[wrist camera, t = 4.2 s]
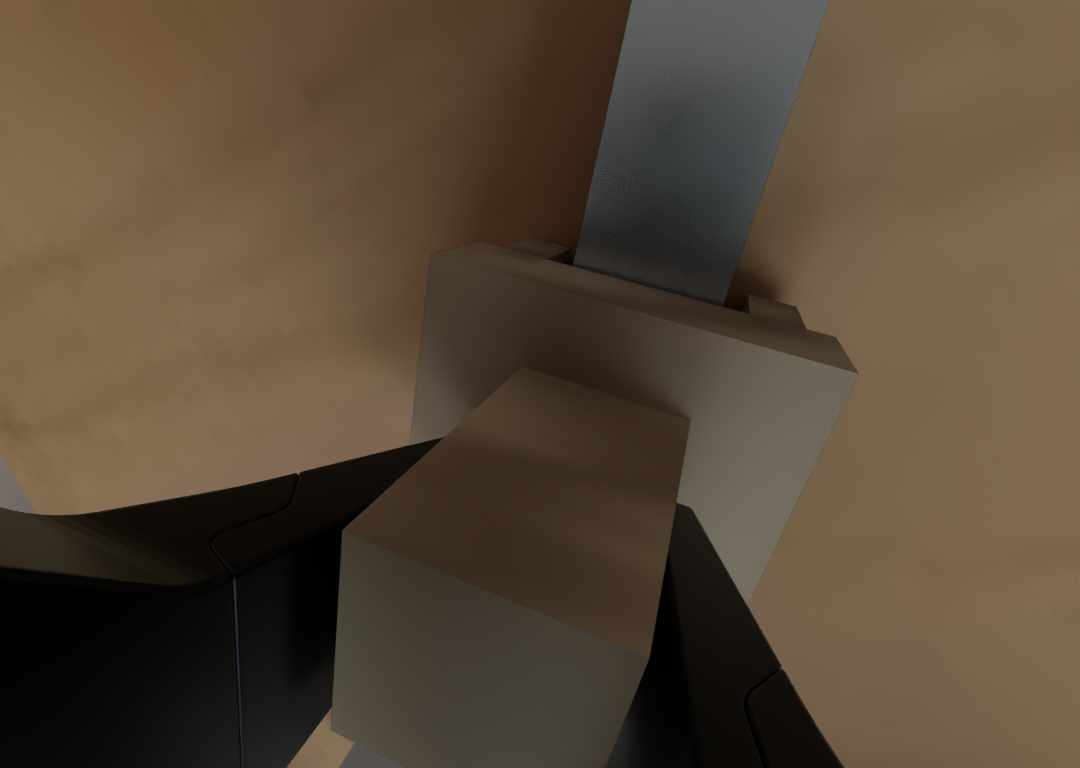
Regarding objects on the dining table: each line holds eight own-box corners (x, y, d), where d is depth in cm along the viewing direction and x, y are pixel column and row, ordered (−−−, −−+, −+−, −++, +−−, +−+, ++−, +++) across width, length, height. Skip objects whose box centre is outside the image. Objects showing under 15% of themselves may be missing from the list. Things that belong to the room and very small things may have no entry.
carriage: (820, 312, 11) (1015, 626, 4) (725, 536, 14) (713, 1015, 6) (511, 232, 13) (164, 323, 5) (475, 447, 15) (202, 735, 7)
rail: (819, 9, 10) (837, -27, 8) (564, 753, 19) (547, 813, 17) (658, -15, 11) (644, -52, 9) (485, 715, 20) (460, 770, 18)
